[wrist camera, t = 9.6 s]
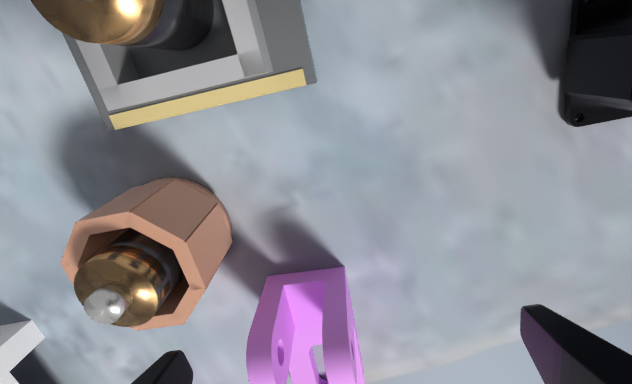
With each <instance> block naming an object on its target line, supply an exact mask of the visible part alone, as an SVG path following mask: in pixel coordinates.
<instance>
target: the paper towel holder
mask: <svg viewBox="0 0 632 384" xmlns="http://www.w3.org/2000/svg"><path fill="white" fill-rule="evenodd" d="M44 338H45V337H44V336H43V335H42V333H41V332H40V331H39V329H38V328H37V327H36V325H35V324H34V323H33V321H32V320H29V321H23V322H18V323H12V324H6V325H1V326H0V384H19V383H18V382H17V380H16V379H15V378H14V377H13V376H12V375H11V373H10V371H11V370H12V369H13V368H14V367H15V366H16V365H17V364H18V363H19V362H20V361H21V360H22V359H23V358H24V357H25V356H26V355H27V354H29V353H30V352H31V351H32V350H33V349H34V348H35V347H36V346H37V345H38V344H39V343H40V342H41V341H42V340H43V339H44Z"/></svg>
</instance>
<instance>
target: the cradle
mask: <svg viewBox="0 0 632 384" xmlns="http://www.w3.org/2000/svg"><path fill="white" fill-rule="evenodd" d="M213 3H214V19H213V23H212V27H211V29H210V32H209V33H208V35H207V37H206V38H205V39H204V40H203V41H202V42H201V43H200V44H199V45H197V46H196V47H194V48H192V49H189V50H184V51H175V50H163V49H152V48H141V47H130V46H119V45H108V44H97V43H88V42H83V41H80V40H77V39H74V38H72V37H70V36H68V35H66V34H64V33H63V35H64V37H65V40H66V42H67V44H68V46H69V48H70V50H71V52H72V55H73V57H74V59H75V61H76V63H77V65H78V67H79V70H80V72H81V74H82V76H83V78H84V80H85V82H86V84H87V87H88V89H89V91H90V93H91V95H92V97H93V99H94V102H95V104H96V106H97V108H98V110H99V112H100V114H101V117H102V119H103V121H104V123H105V125H106V127H107V129H108V131H113V130H117V129H122V128H126V127H130V126H134V125H139V124H143V123H147V122H151V121H156V120H160V119H164V118H168V117H173V116H177V115H181V114H185V113H190V112H194V111H198V110H202V109H207V108H211V107H215V106H219V105H224V104H228V103H232V102H236V101H241V100H245V99H249V98H253V97H258V96H262V95H266V94H270V93H275V92H279V91H283V90H287V89H292V88H296V87H300V86H304V85H308V84H313V83H316V82H317V79H316V74H315V69H314V64H313V60H312V55H311V50H310V45H309V41H308V36H307V31H306V26H305V22H304V17H303V12H302V7H301V3H300V0H213Z"/></svg>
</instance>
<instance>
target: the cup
mask: <svg viewBox="0 0 632 384" xmlns="http://www.w3.org/2000/svg"><path fill="white" fill-rule="evenodd" d="M130 227H131V228H133V229H134V230H136V231H138V232H140V233H142V234H144V235H146V236H148V237H150V238H152V239H153V240H155V241H157V242H159V243H161V244H163V245H165V246H167V247H169V248H171V249H172V250H173V251H174V253H175V255H176V257H177V260H178V262H179V264H180V266H181V268H182V270H183V273H184V274H183V276H182V277H181V278H180V280H179V281H178V283H177V284H176V285H175V287H174V288H173V290H172V291H171V292H170V294H169V295H168V297H167V298H166V299H165V301H164V302H163V304H162V305H161V306H160V308H159V309H158V311H157V312H156V313H155V315H154V316H153V317H152V318H151V319H150V320H149V321H148V322H146V323H144V324H142V325H139V326H134V327H131V328H133V329H135V330H145V329H152V328H159V327H166V326H174V325H181V324H184V323H185V322H186V321H187V319H188V317H189V316H190V314H191V313H192V311H193V309H194V308H195V306H196V304H197V303H198V301H199V300H200V298H201V296H202V295H203V293H204V292H205V290H206V288H207V287H208V285H209V283H210V281H211V279H212V278H213V276H214V274H215V272H216V271H217V269H218V267H219V265H220V264H221V262H222V260H223V258H224V257H225V255H226V253H227V251H228V250H229V248H230V246H231V244H232V225H231V221H230V217H229V215H228V213H227V211H226V209H225V207H224V206H223V204H222V203H221V202H220V200H219V199H218V198H217V197H216V196H215V195H214V194H213V193H212V192H210V191H209V190H208V189H206V188H205V187H203V186H201V185H199V184H197V183H195V182H193V181H190V180H187V179H183V178H176V177H166V178H159V179H156V180H153V181H151V182H148V183H147V184H145V185H140V186H135V187H132V188H130V189H129V190H127V191H125V192H124V193H122V194H121V195H119V196H117V197H116V198H114V199H112V200H111V201H109V202H108V203H106V204H104V205H103V206H101V207H99V208H98V209H96V210H95V211H93V212H91V213H90V214H88V215H86V216H85V217H83V218H81V219H80V220H78V221H77V222H75V225H74V227H73V230H72V233H71V236H70V238H69V241H68V244H67V247H66V249H65V252H64V255H63V258H62V260H61V263H62V264H61V265H62V267H63V269H64V270H65V272H66V273H67V275H68V277H69V278H70V280H71V282H72V283H73V285H74V278H75V275H76V273H77V271H78V270H79V268H80V267H82V266H83V265H84V264H85V263H86V262H88V261H89V260H90V259H91V258H93V257H94V256H95V255H96V254H98V253H99V252H100V251H101V250H103V249H104V248H105V247H106V246H108V245H109V244H110V243H111V242H113V241H114V240H115V239H116V238H117V237H119V236H120V235H121V234H122V233H124V232H125V231H126V230H127V229H129V228H130Z"/></svg>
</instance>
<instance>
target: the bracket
mask: <svg viewBox="0 0 632 384" xmlns="http://www.w3.org/2000/svg"><path fill="white" fill-rule="evenodd" d="M318 344H323V355H324V363H325V370H326V375H327V379H328V381H326V380H323V379H322V378H321V377H320V376H319V373H318V370H317V366H316V362H315V358H314V354H313V350H312V347H313V346H314V345H318ZM246 362H247V373H248V378H249V382H250V384H286V381H287V377H288V370H289V372H290V376H291V379H292V382H293V384H365V379H364V370H363V364H362V359H361V353H360V348H359V342H358V337H357V331H356V326H355V320H354V315H353V309H352V304H351V298H350V293H349V288H348V282H347V277H346V271H345V267H336V268H328V269H320V270H312V271H304V272H296V273H288V274H280V275H272V276H267V278H266V282H265V285H264V288H263V291H262V294H261V297H260V300H259V304H258V307H257V310H256V313H255V316H254V319H253V323H252V326H251V329H250V332H249V336H248V342H247V352H246Z"/></svg>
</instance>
